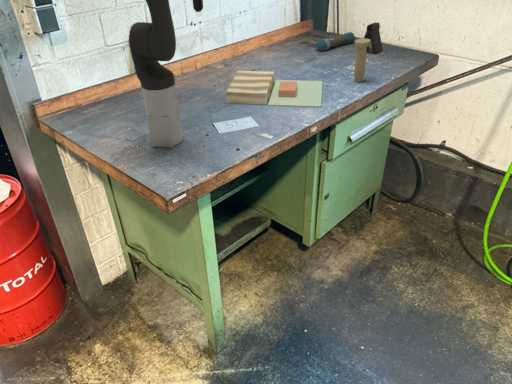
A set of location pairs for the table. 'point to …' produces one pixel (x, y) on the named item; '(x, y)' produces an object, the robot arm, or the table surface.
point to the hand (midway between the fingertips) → (198, 11)
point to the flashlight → (335, 41)
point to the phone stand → (374, 38)
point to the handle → (360, 58)
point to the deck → (250, 87)
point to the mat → (299, 94)
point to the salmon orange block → (287, 89)
